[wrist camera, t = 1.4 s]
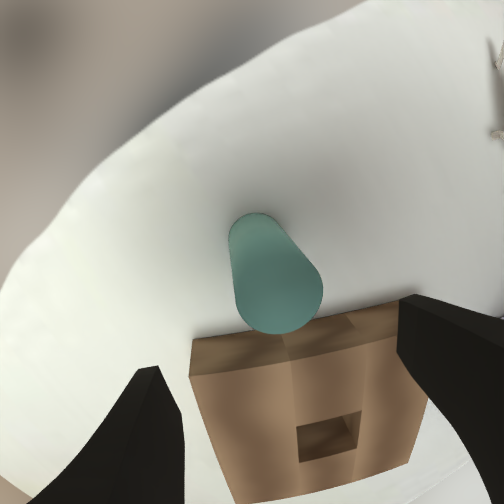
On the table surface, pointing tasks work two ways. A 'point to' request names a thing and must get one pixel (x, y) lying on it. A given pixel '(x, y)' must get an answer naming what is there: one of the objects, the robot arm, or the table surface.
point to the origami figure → (498, 133)
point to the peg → (271, 276)
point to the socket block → (307, 404)
